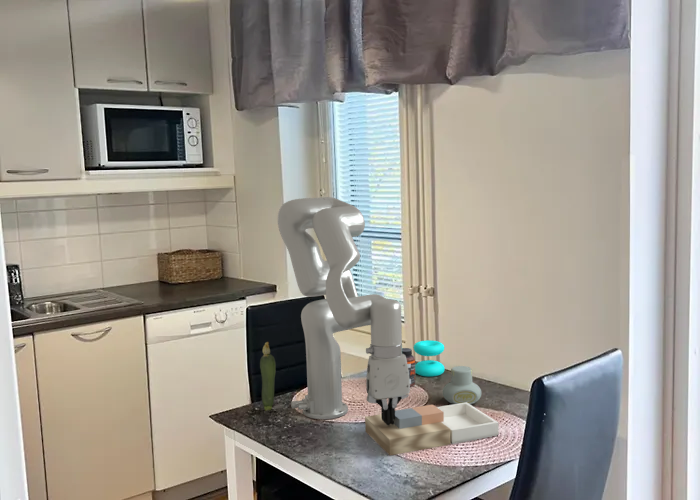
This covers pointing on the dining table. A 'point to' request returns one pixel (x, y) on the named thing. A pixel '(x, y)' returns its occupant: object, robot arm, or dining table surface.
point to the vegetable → (267, 377)
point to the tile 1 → (407, 418)
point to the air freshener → (461, 387)
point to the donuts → (429, 366)
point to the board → (406, 435)
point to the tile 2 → (430, 414)
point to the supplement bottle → (410, 364)
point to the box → (468, 423)
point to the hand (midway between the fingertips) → (388, 422)
